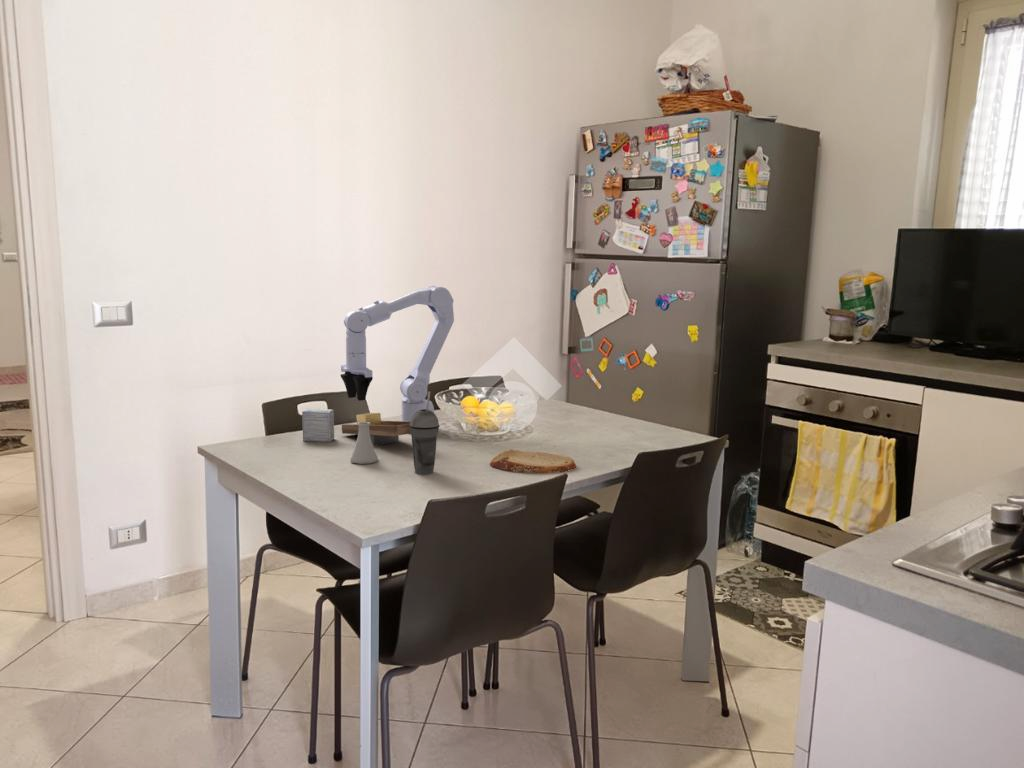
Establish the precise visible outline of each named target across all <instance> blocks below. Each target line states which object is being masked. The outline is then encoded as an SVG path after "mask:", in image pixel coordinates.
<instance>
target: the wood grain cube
mask: <svg viewBox="0 0 1024 768" xmlns="http://www.w3.org/2000/svg"><path fill="white" fill-rule="evenodd" d="M381 421H382V416H381V413H380V412H369V413H360V414H356V425H358V423H359V422H370V425H381Z"/></svg>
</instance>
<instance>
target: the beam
mask: <svg viewBox="0 0 1024 768" xmlns="http://www.w3.org/2000/svg"><path fill="white" fill-rule="evenodd" d="M409 425H410V421H402V420H381V425H370V426H369V433H370V435H384V436H398V435H399V436H403V435H405V436H406V435H411V432H410V427H409ZM341 433H342V434H344V435H345V434H346V435H358V433H359V426H358V425H357V423H356V424H352V423H349V424H348V423H344V424H341Z"/></svg>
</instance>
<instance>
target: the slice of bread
mask: <svg viewBox="0 0 1024 768" xmlns="http://www.w3.org/2000/svg"><path fill="white" fill-rule="evenodd" d="M489 466H490V467H491V468H493V469H497V470H502V471H505V472H510V473H511V472H512V473H519V474H520V473H521V474H556V473H555V472H560V473H566V472H565V471H567V472H569V471H568V470H571V469H574V468H576V467H577V465H576V463H575V461H574V459H573V458H571V457H570V456H564V455H561V454H552V453H546V452H538V451H536V452H535V451H534V452H533V451H524V450H515V449H509V450H505V451H503V452H501V453H499V454H497V455H496V456H494V457H493V458H492V460H491V461H490V463H489ZM576 469H577V468H576ZM574 470H575V469H574ZM571 471H572V470H571Z"/></svg>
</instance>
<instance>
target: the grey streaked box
mask: <svg viewBox="0 0 1024 768" xmlns="http://www.w3.org/2000/svg"><path fill="white" fill-rule="evenodd" d="M334 412H335V411H334V409H328V408H325V409H324V408H322V409H321V408H306V409H304V410H302V412H301V416H302V418H301V419H302V423H301V424H302V441H303V442H319V443H321V442H322V443H323V442H324V443H326V442H327V443H330V442H332V441H333V440H334V439H335V417H334V416H335V414H334Z"/></svg>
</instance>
